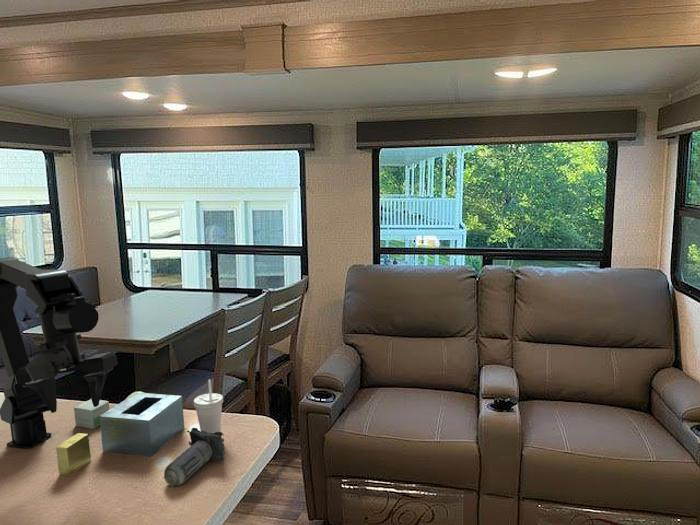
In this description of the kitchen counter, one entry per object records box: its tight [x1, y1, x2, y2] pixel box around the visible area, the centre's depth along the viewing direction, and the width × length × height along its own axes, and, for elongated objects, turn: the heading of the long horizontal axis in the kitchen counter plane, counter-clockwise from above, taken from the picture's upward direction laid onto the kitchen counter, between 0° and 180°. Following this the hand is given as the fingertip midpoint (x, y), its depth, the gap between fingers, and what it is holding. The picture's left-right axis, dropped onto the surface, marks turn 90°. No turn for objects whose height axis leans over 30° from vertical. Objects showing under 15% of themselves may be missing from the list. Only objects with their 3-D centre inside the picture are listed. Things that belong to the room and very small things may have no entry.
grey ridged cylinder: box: [163, 427, 226, 487], centre depth 105 cm, size 9×8×12 cm
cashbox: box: [99, 392, 185, 457], centre depth 119 cm, size 12×13×8 cm
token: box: [55, 432, 92, 477], centre depth 108 cm, size 2×6×6 cm, turn 167°
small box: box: [73, 398, 110, 430], centre depth 129 cm, size 6×6×5 cm
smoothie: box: [193, 379, 224, 433], centre depth 118 cm, size 6×6×14 cm
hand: (75, 409), depth 107 cm, fingers open, 9 cm apart
